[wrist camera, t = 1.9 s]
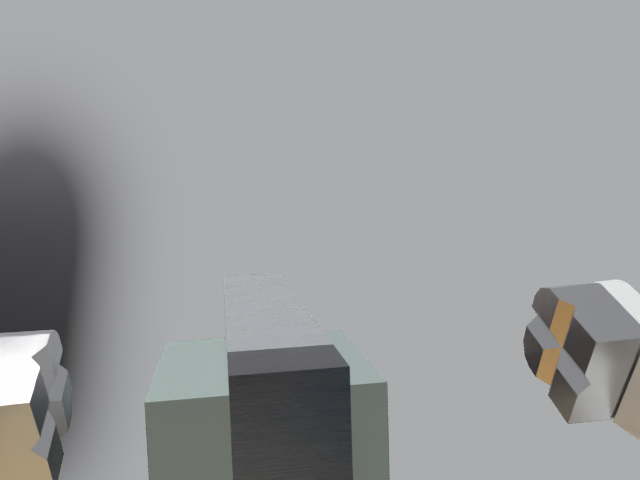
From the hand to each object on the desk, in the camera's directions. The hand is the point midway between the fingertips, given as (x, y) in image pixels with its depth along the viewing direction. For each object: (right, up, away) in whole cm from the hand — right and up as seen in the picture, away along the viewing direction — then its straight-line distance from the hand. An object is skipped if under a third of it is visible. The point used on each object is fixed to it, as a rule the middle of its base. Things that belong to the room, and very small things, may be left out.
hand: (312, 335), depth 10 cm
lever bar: (-3, -6, +22) cm, 23 cm away
